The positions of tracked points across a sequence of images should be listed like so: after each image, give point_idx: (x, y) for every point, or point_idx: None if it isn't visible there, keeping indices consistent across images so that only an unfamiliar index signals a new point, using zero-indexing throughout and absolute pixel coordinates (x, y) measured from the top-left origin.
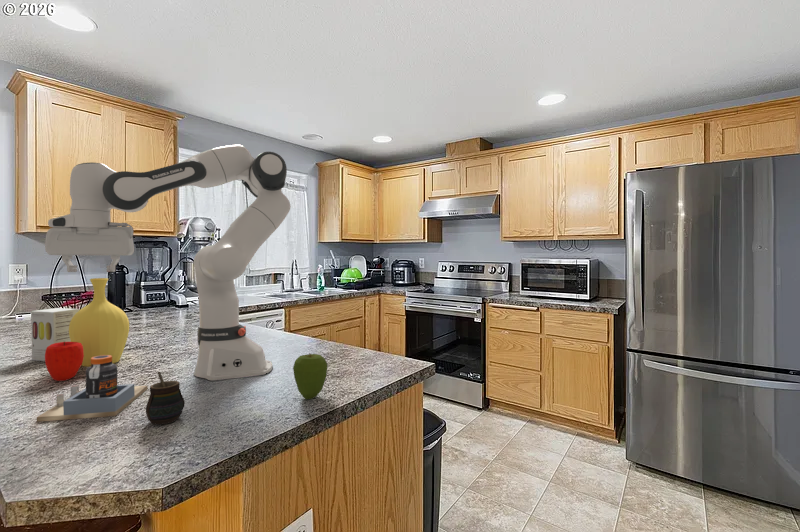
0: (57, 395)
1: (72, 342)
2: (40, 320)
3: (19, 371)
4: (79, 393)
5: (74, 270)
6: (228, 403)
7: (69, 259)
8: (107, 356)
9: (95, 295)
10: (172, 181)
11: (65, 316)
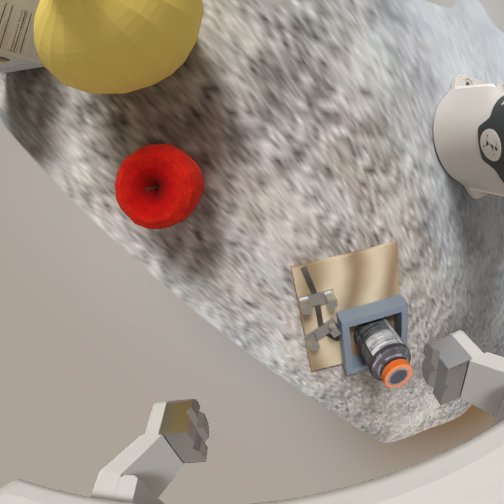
0: (313, 350)
1: (151, 162)
2: None
3: (40, 140)
4: (348, 350)
5: (203, 423)
6: (498, 292)
7: (123, 474)
8: (407, 373)
9: None
10: None
11: None
